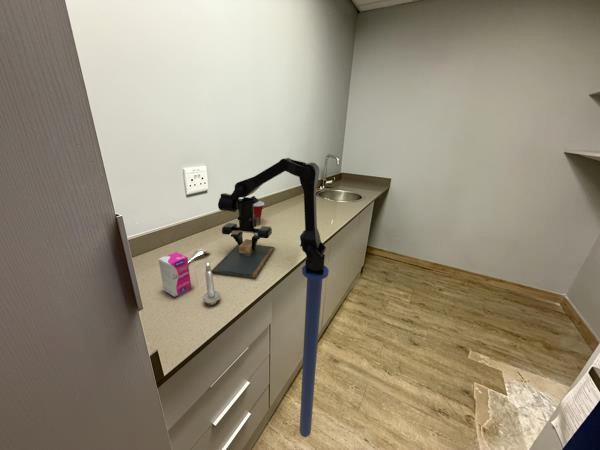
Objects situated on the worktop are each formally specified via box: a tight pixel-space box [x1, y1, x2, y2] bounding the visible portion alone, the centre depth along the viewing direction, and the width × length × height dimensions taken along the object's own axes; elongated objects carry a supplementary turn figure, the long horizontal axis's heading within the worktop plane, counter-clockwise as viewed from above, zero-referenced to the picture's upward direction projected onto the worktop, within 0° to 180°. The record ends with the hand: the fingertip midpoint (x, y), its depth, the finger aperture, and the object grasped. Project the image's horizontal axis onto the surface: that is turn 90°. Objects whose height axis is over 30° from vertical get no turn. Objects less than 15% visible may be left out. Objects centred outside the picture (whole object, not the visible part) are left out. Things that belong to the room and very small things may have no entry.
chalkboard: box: [211, 244, 275, 280], centre depth 94 cm, size 16×24×1 cm, turn 170°
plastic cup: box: [254, 200, 265, 225], centre depth 131 cm, size 11×11×12 cm
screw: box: [201, 262, 221, 306], centre depth 68 cm, size 13×5×5 cm
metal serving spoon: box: [188, 248, 210, 264], centre depth 89 cm, size 20×4×5 cm
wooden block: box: [239, 238, 256, 256], centre depth 98 cm, size 4×7×4 cm, turn 170°
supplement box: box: [158, 251, 192, 299], centre depth 73 cm, size 6×6×12 cm
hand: (248, 249), depth 98 cm, fingers closed on wooden block, 4 cm apart
